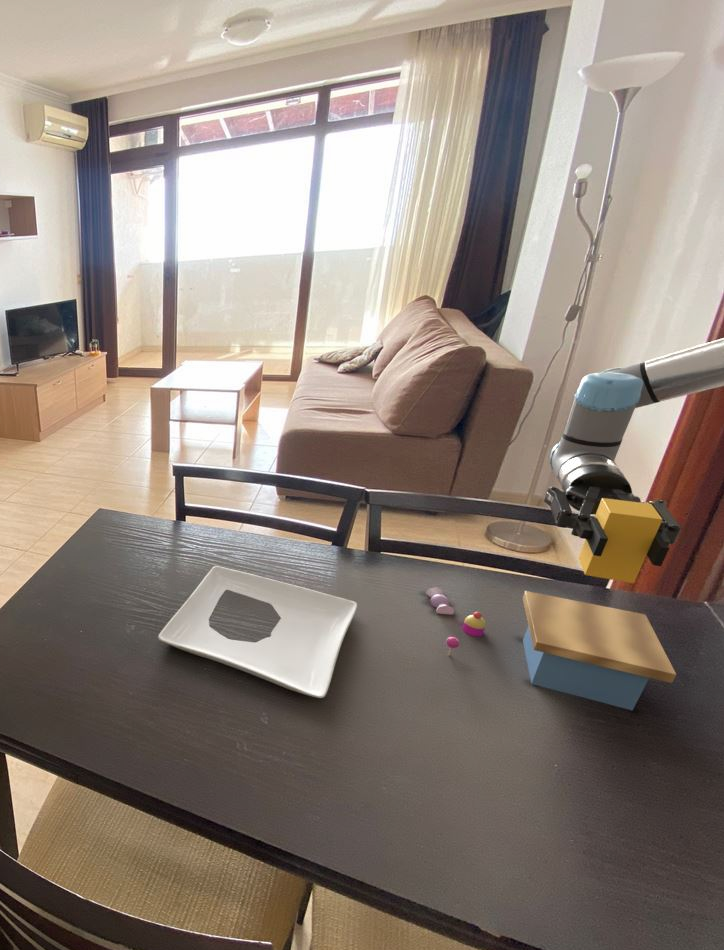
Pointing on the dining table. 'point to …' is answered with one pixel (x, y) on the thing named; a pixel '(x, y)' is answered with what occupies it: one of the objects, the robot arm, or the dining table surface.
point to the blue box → (583, 678)
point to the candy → (471, 624)
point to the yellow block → (622, 540)
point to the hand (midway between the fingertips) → (630, 551)
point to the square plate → (291, 642)
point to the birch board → (596, 635)
